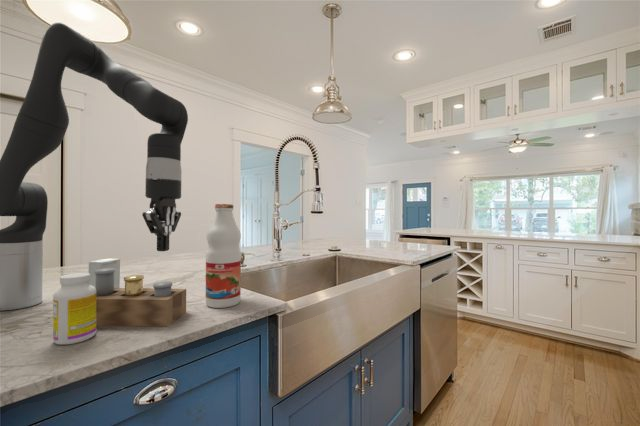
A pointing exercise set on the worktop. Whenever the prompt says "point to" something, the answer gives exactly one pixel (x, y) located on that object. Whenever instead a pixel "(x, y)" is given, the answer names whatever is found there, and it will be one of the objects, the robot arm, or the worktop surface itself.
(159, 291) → the plug
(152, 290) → the socket block
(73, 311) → the supplement bottle
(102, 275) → the plug
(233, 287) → the fruit juice
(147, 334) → the worktop surface
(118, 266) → the skincare box
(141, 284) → the plug mid
